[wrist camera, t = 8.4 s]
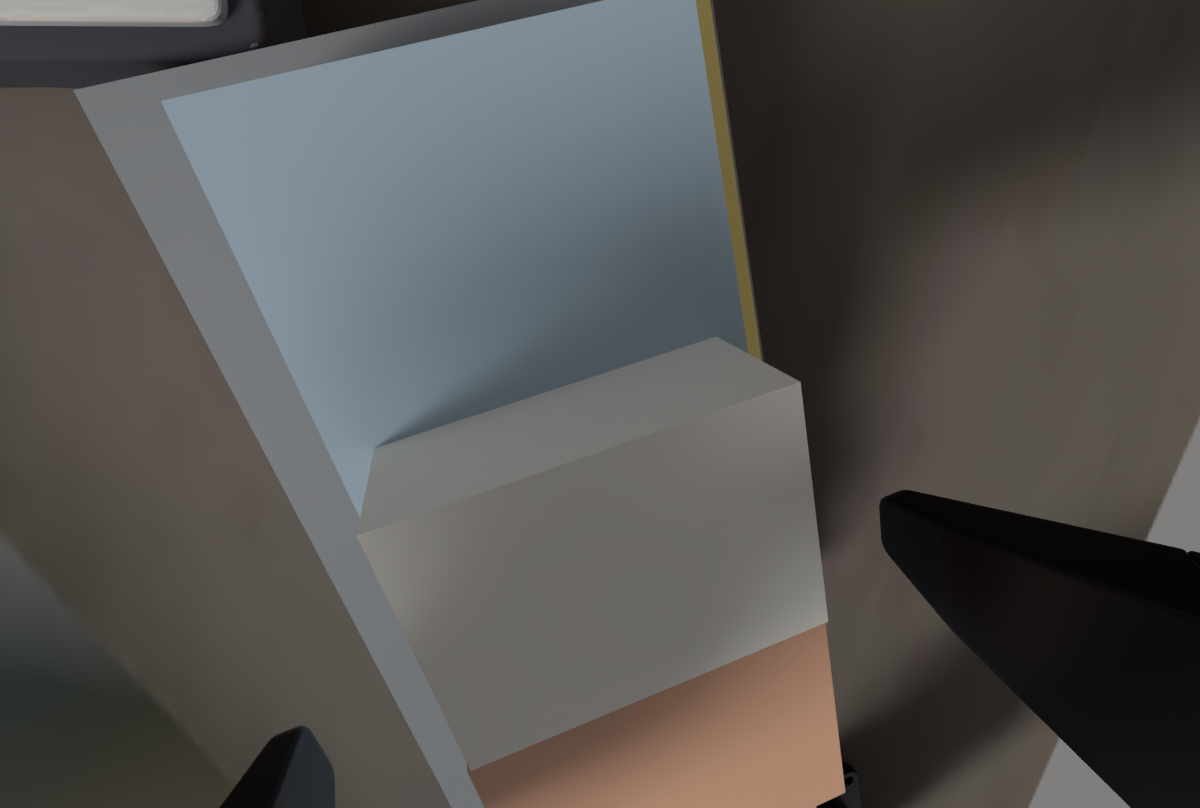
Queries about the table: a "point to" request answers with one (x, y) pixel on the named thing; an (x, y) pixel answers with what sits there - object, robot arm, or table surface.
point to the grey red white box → (132, 36)
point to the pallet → (474, 215)
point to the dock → (247, 345)
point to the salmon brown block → (694, 743)
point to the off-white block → (598, 542)
